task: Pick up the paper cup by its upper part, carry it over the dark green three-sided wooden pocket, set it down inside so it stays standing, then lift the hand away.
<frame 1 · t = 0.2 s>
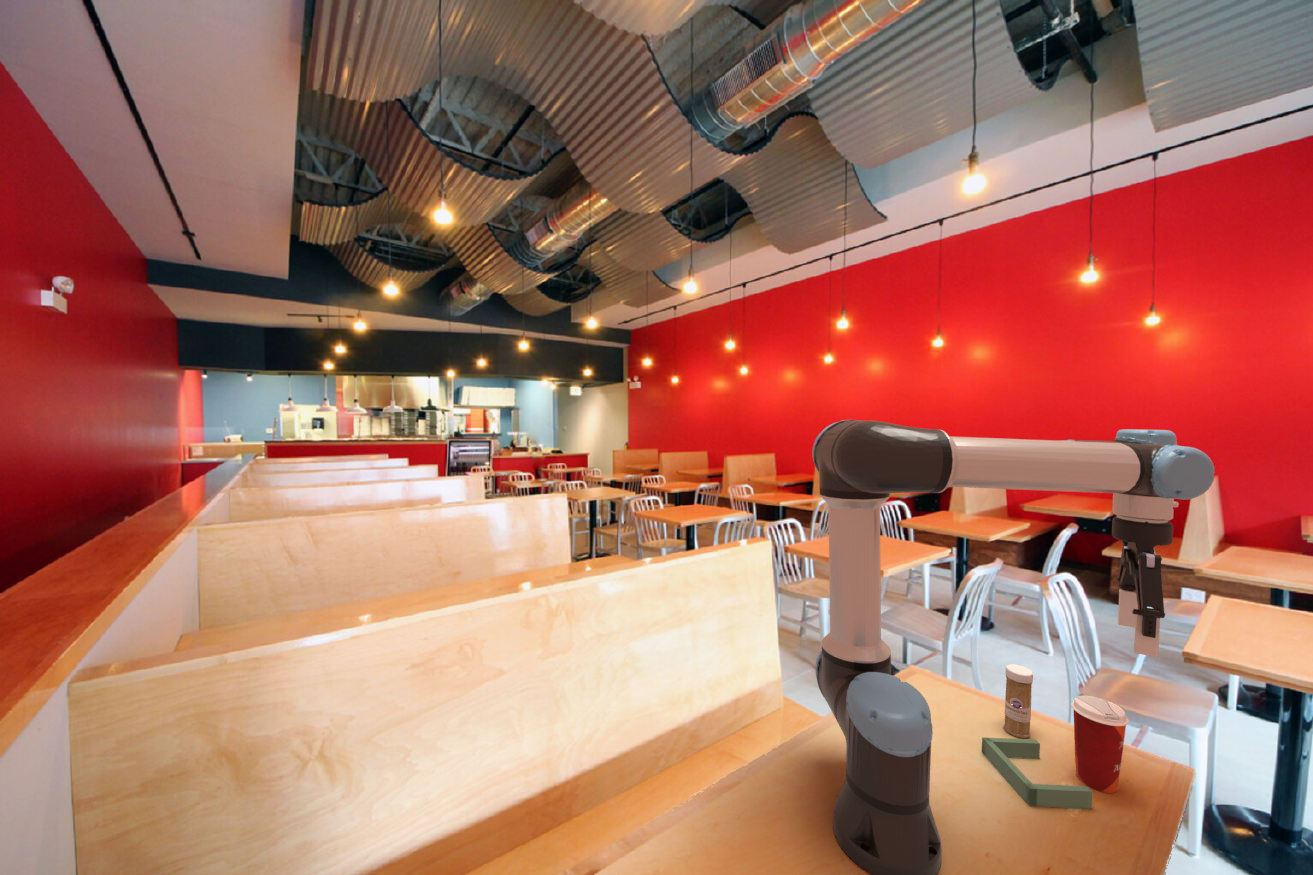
hand: (1136, 639, 87), 27 cm above the table, tool pointing down, fingers open, 13 cm apart
sprinkles bottle: (1017, 733, 103), on the table
green pocket: (1032, 778, 90), on the table
paper cup: (1095, 782, 89), on the table
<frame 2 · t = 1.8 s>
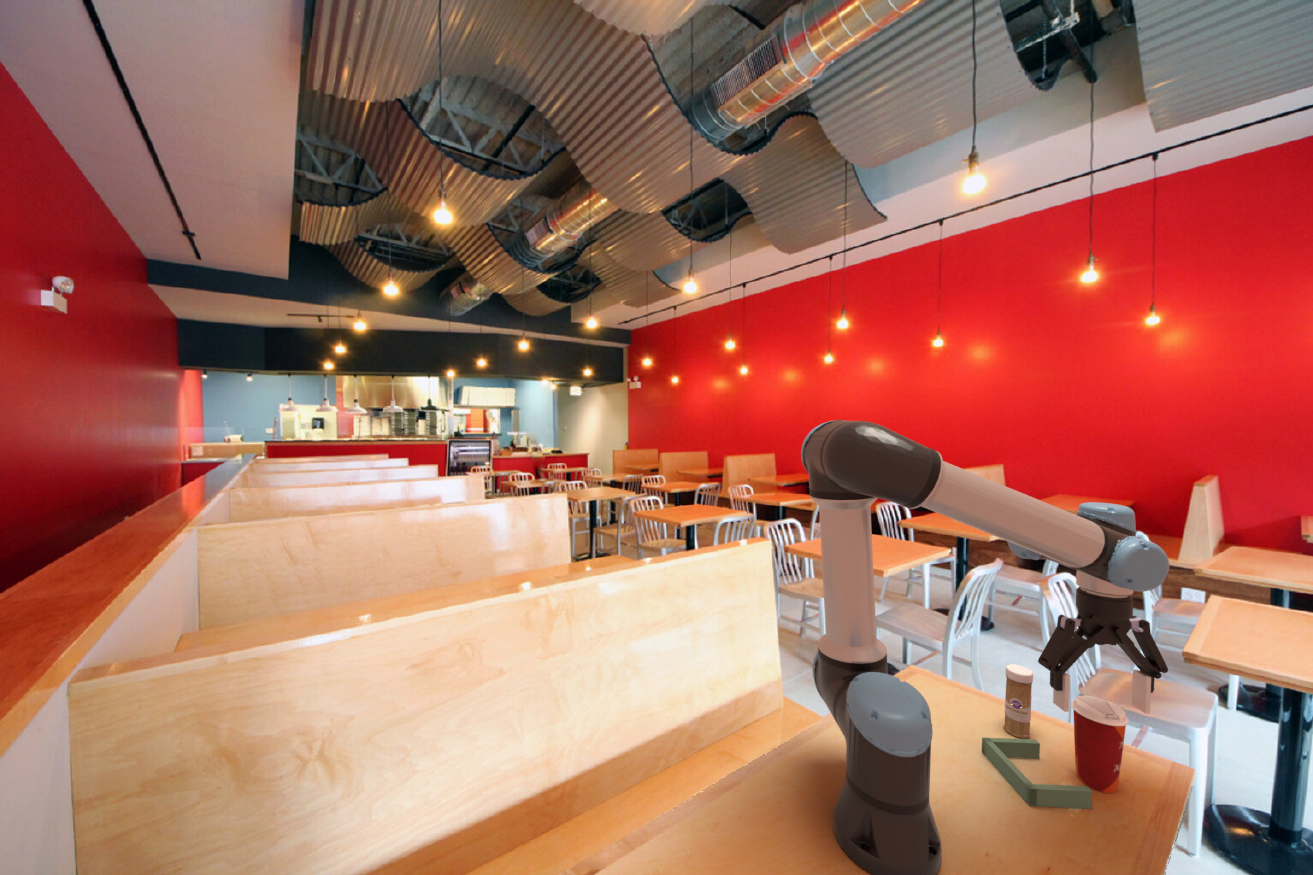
hand: (1100, 708, 89), 13 cm above the table, tool pointing down, fingers open, 13 cm apart
nothing on the table moved.
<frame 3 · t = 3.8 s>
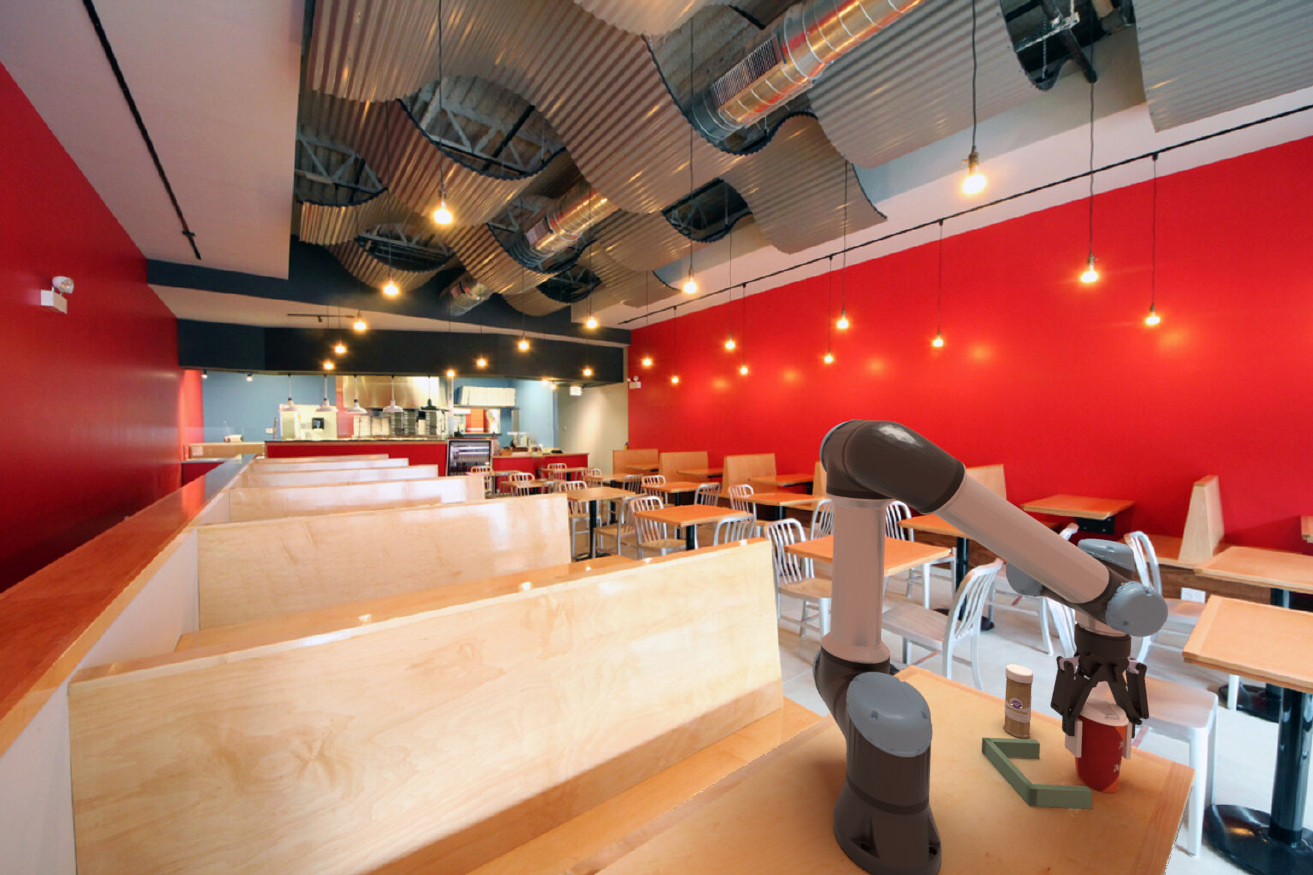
hand: (1097, 752, 89), 5 cm above the table, tool pointing down, fingers closed on paper cup, 8 cm apart
paper cup: (1095, 782, 89), on the table, touching gripper
everything else where it was.
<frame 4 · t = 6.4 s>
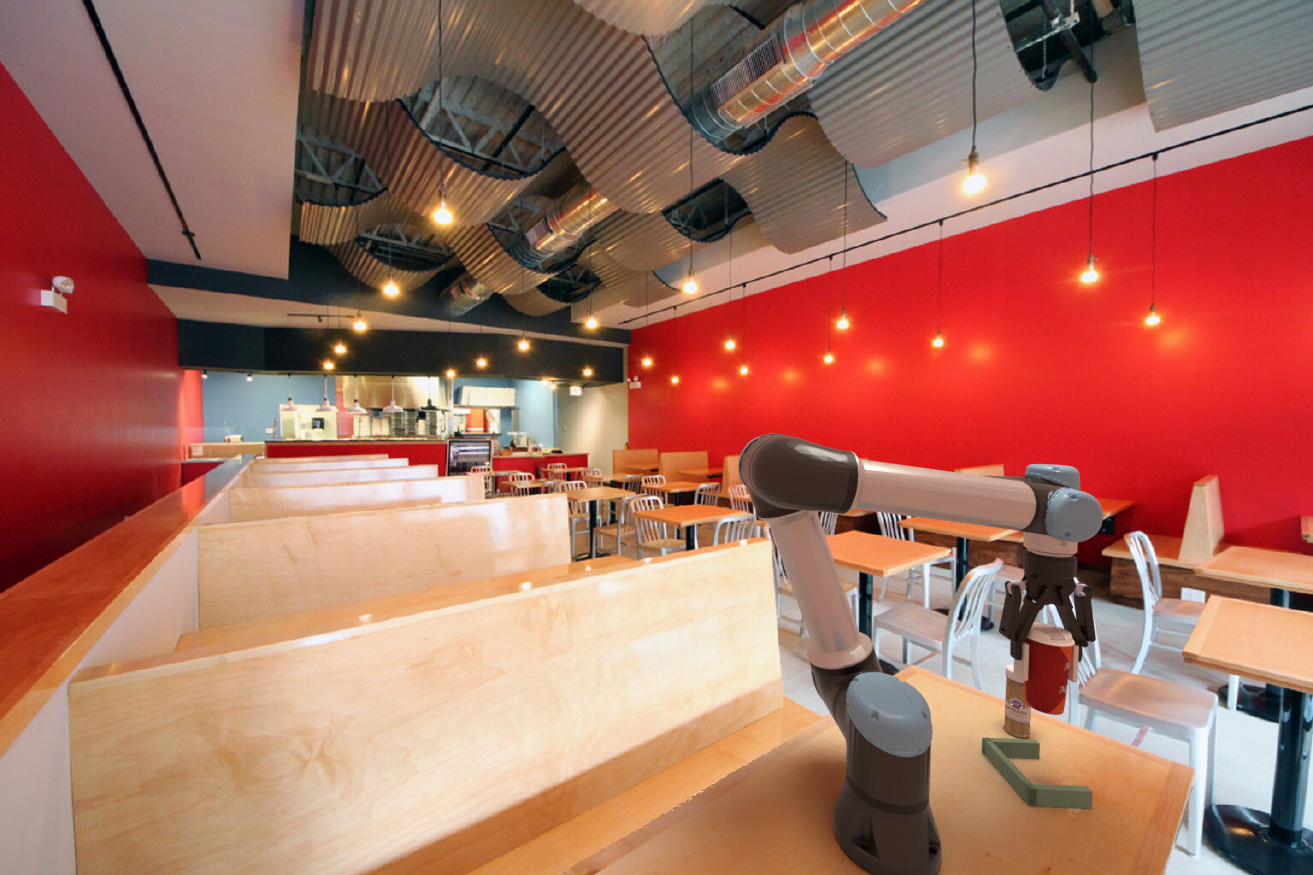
hand: (1044, 677, 89), 19 cm above the table, tool pointing down, fingers closed on paper cup, 8 cm apart
paper cup: (1043, 706, 89), point 13 cm above the table, touching gripper
everything else where it was.
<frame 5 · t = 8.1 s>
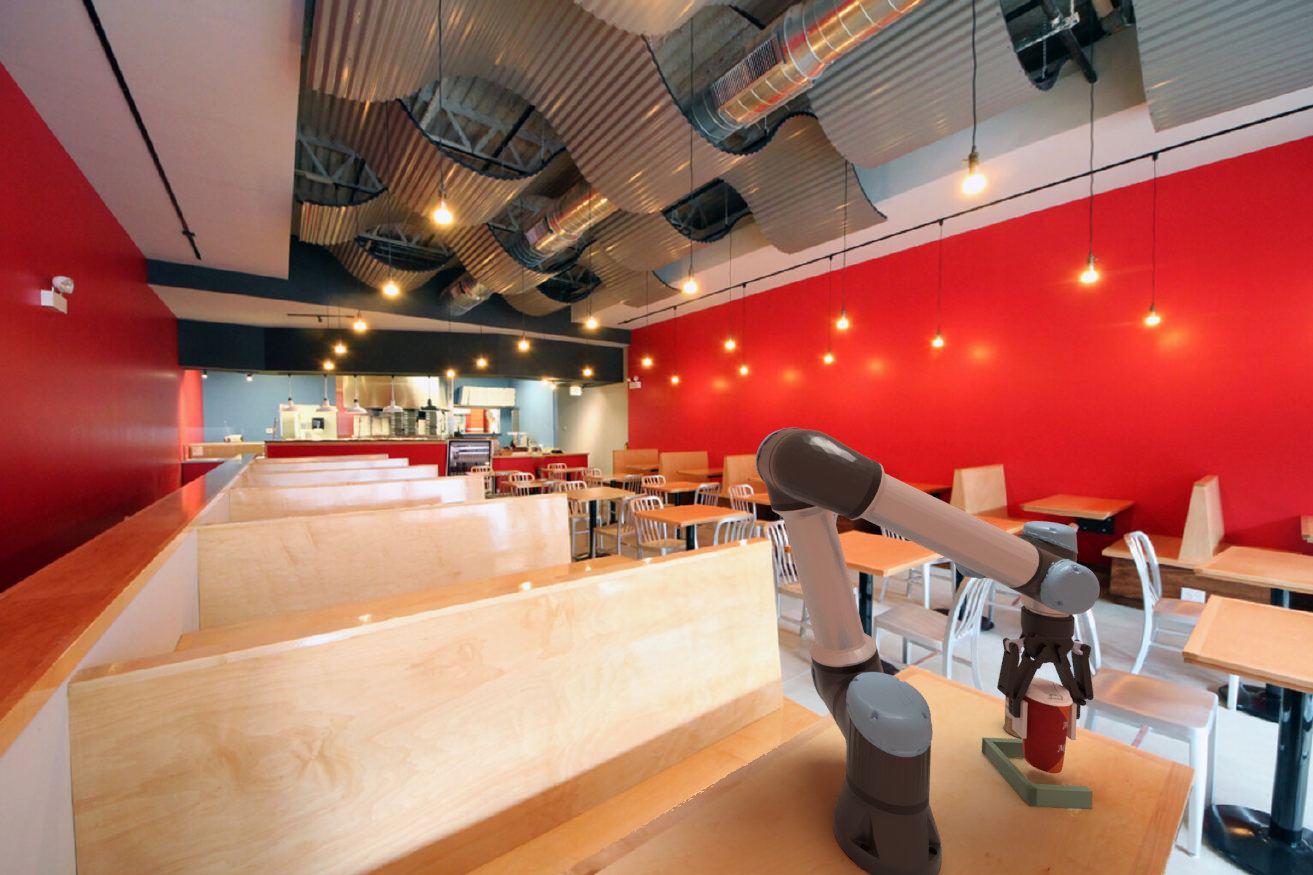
hand: (1043, 734, 89), 8 cm above the table, tool pointing down, fingers closed on paper cup, 8 cm apart
paper cup: (1042, 763, 90), point 3 cm above the table, touching gripper
everything else where it was.
when the fingers open (6 cm above the table, at t = 9.4 s): paper cup stays where it is, on the table.
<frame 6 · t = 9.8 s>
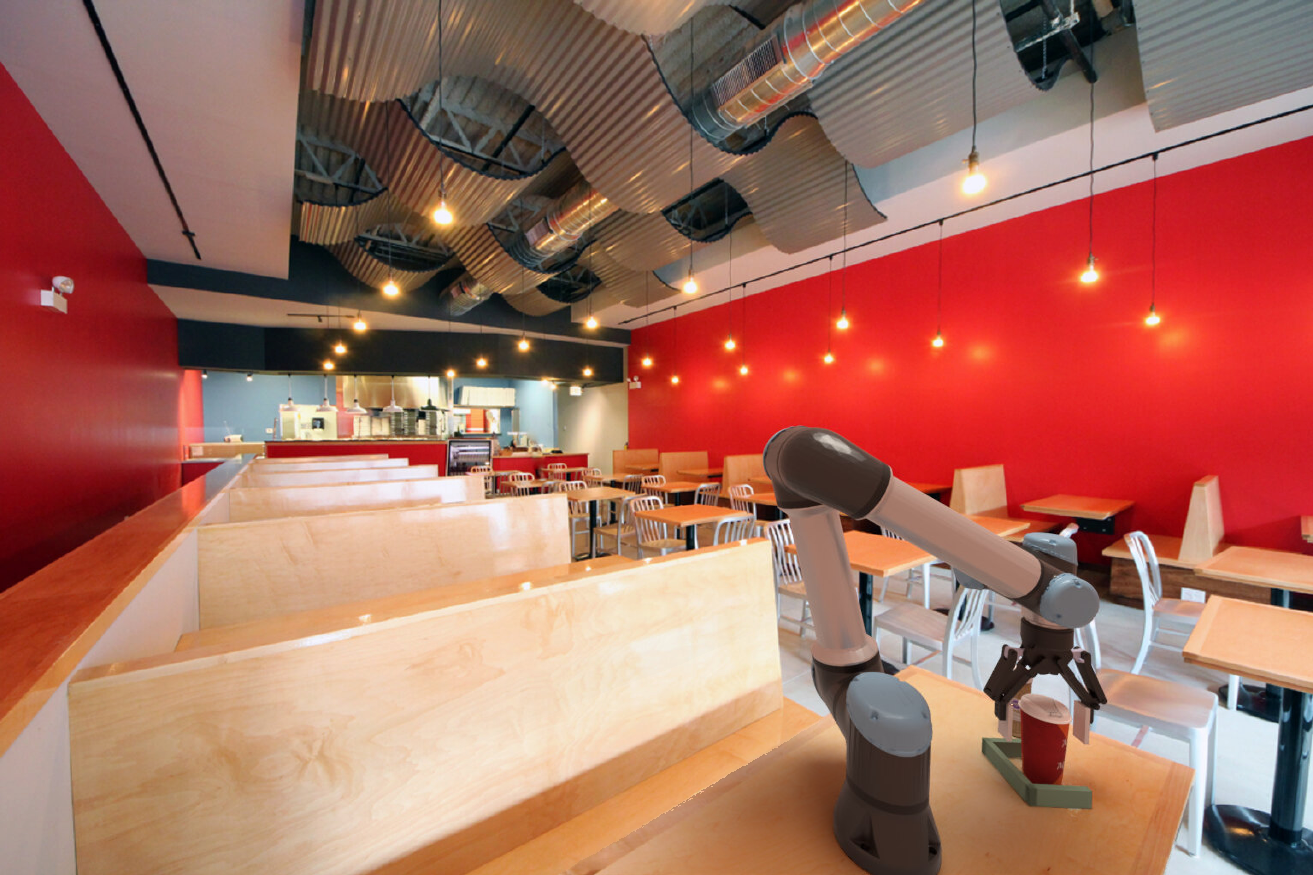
hand: (1042, 738, 89), 8 cm above the table, tool pointing down, fingers open, 12 cm apart
paper cup: (1041, 779, 90), on the table
everything else where it was.
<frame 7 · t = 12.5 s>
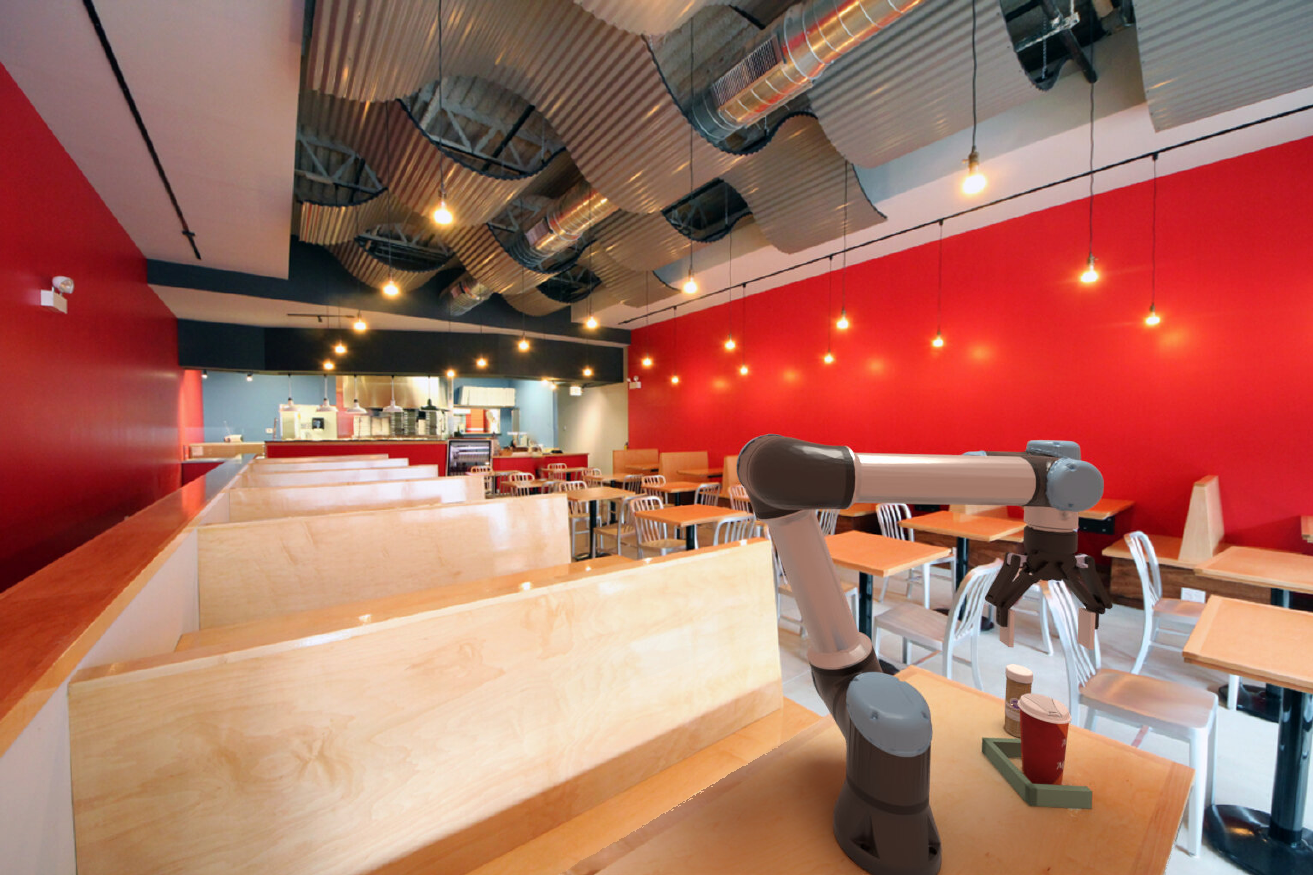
hand: (1045, 645, 89), 25 cm above the table, tool pointing down, fingers open, 13 cm apart
nothing on the table moved.
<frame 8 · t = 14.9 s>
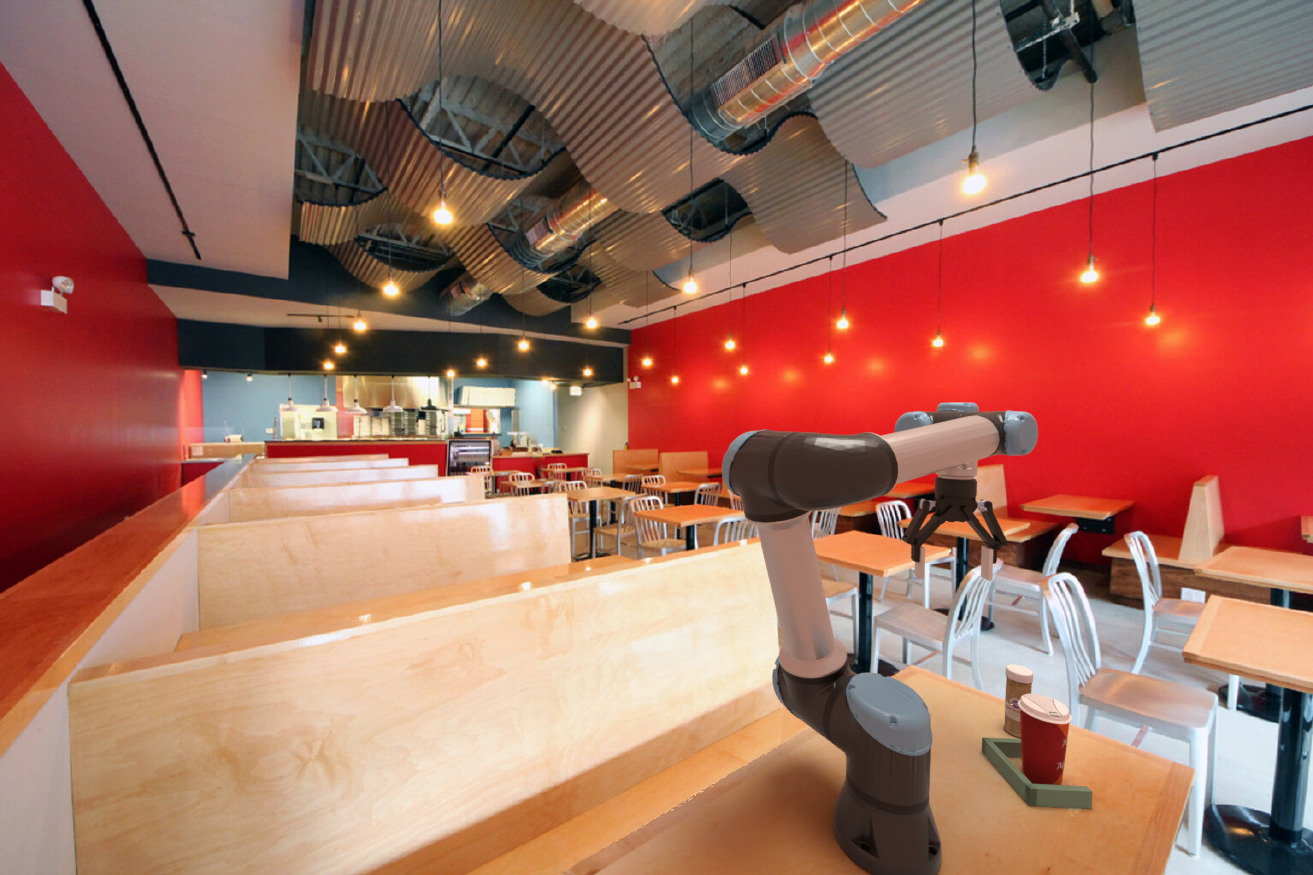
hand: (952, 578, 104), 32 cm above the table, tool pointing down, fingers open, 13 cm apart
nothing on the table moved.
at the end: paper cup 0.0 cm from the target spot on the green pocket, point 0.0 cm above the green pocket's base; paper cup tilted 0°; the gripper is holding nothing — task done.
